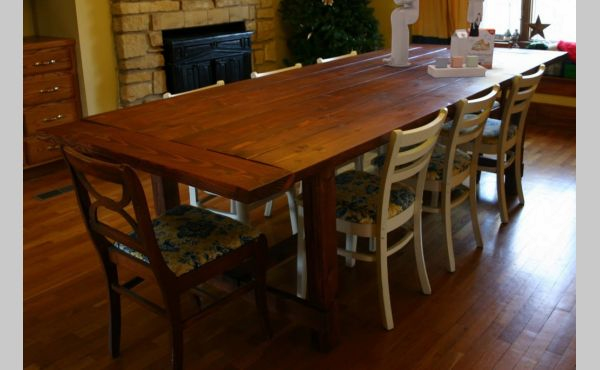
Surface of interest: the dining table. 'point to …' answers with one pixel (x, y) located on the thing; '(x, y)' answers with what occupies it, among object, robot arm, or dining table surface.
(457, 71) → the white rectangular tray
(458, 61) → the key terracotta
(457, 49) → the milk carton
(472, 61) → the key sage
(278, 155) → the dining table surface
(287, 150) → the dining table surface
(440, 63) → the key slate
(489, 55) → the cracker box
